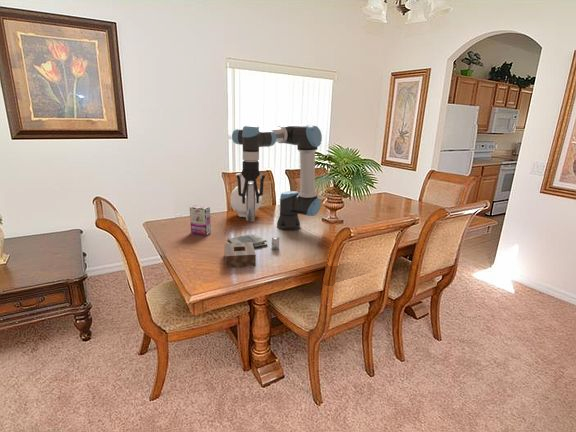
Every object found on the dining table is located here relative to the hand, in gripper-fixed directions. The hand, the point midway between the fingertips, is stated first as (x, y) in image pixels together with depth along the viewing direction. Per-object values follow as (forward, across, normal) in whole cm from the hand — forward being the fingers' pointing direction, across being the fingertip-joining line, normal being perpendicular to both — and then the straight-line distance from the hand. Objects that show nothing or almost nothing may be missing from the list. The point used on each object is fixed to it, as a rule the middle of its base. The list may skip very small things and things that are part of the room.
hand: (250, 209), depth 159 cm
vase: (+25, -6, -74) cm, 79 cm away
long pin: (+5, 0, 0) cm, 5 cm away
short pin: (+25, -15, -11) cm, 31 cm away
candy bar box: (+26, +24, -42) cm, 55 cm away
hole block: (+26, +5, 0) cm, 26 cm away
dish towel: (+26, -1, -22) cm, 34 cm away
